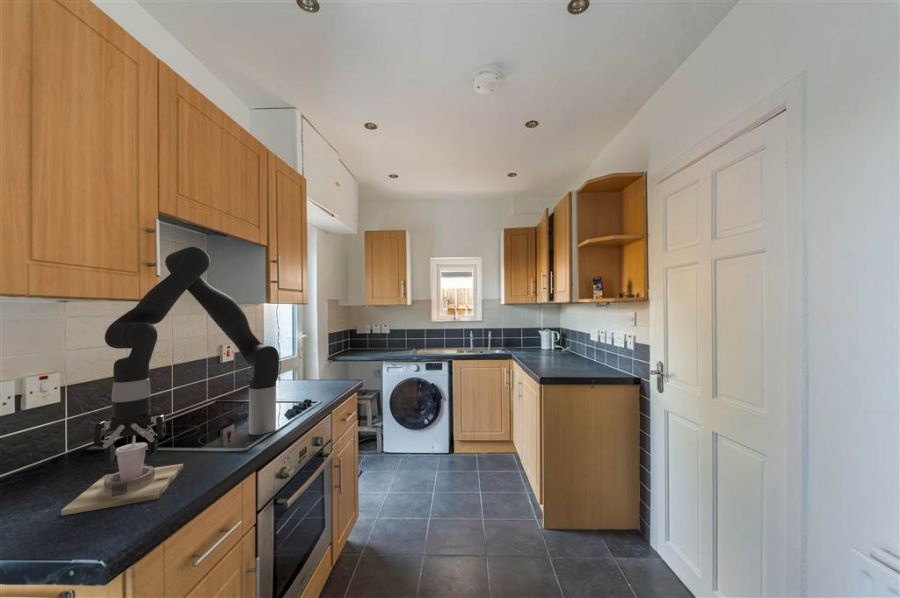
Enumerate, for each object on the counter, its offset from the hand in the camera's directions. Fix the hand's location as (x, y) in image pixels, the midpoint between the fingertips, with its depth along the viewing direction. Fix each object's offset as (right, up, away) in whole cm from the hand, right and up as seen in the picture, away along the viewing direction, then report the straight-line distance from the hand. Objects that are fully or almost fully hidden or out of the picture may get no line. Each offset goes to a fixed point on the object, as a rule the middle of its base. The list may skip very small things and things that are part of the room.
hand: (131, 457), depth 91 cm
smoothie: (0, -7, 0) cm, 7 cm away
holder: (0, -8, 0) cm, 8 cm away
